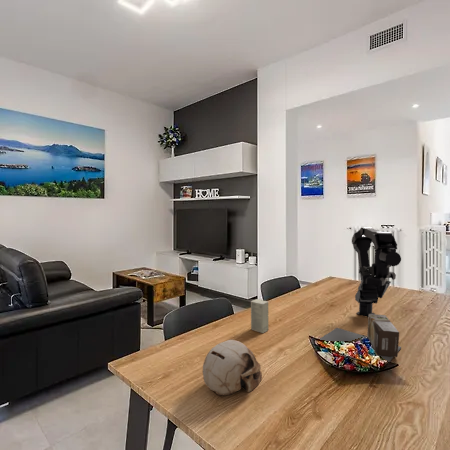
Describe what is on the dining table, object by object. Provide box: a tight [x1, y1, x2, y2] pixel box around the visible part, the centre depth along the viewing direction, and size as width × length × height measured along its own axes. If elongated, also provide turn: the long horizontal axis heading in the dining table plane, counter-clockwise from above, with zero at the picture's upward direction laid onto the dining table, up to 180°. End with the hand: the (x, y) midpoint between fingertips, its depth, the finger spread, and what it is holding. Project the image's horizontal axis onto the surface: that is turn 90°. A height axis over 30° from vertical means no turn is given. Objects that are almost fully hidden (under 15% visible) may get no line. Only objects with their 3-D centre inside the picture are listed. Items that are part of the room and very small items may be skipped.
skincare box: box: [250, 298, 269, 334], centre depth 123 cm, size 6×4×12 cm
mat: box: [319, 327, 402, 363], centre depth 110 cm, size 20×24×1 cm
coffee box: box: [366, 313, 400, 358], centre depth 108 cm, size 9×6×16 cm
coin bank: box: [202, 339, 263, 396], centre depth 85 cm, size 16×17×13 cm
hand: (380, 297), depth 126 cm, fingers closed
